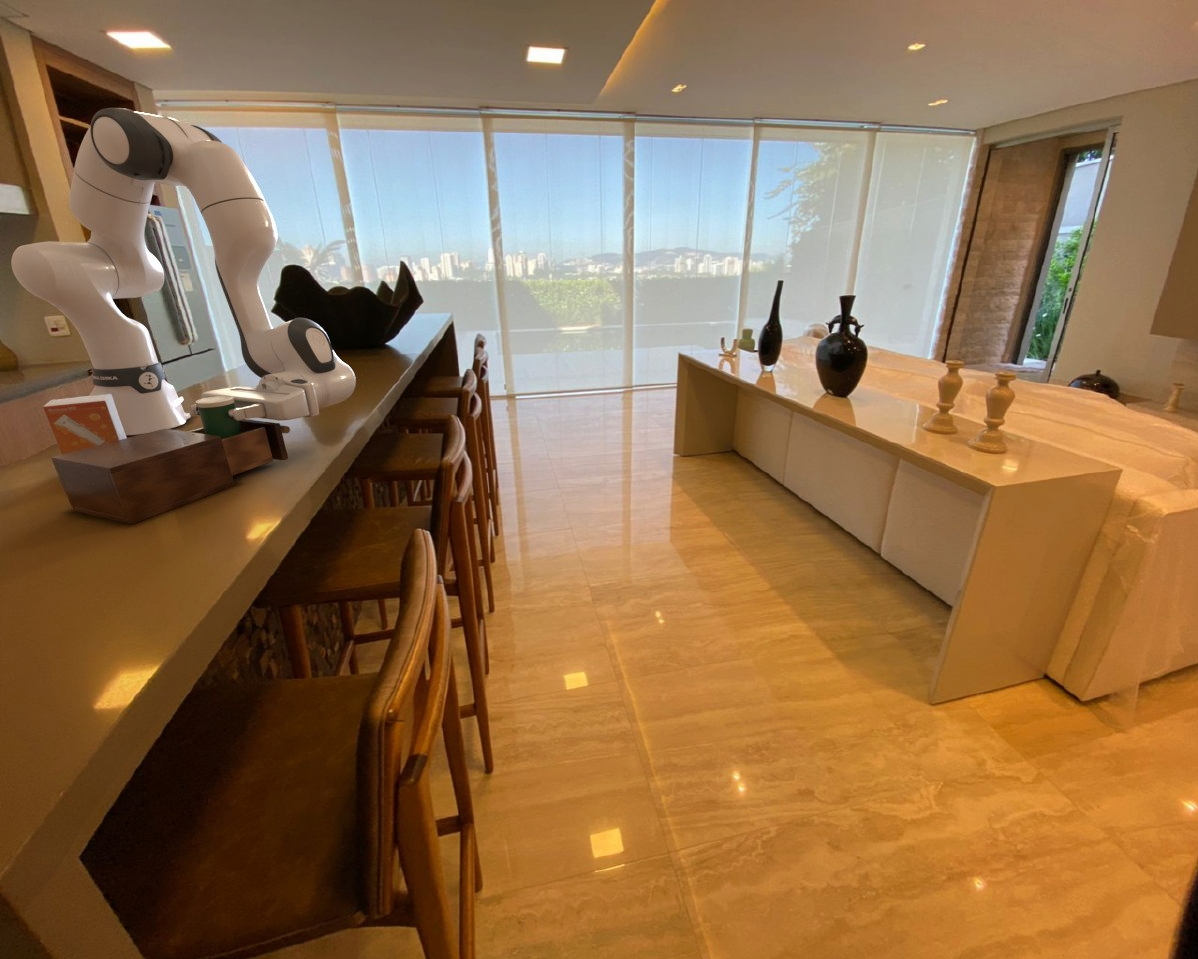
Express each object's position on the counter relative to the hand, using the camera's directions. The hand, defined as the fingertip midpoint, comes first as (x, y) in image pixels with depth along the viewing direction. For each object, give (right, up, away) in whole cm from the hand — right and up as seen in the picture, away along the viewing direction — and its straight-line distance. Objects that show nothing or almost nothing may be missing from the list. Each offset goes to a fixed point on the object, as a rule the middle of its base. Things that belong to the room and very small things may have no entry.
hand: (212, 413), depth 90 cm
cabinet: (-4, -14, -6) cm, 16 cm away
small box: (-24, -10, +6) cm, 26 cm away
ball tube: (0, -8, +4) cm, 9 cm away
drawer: (+1, -8, +5) cm, 10 cm away
